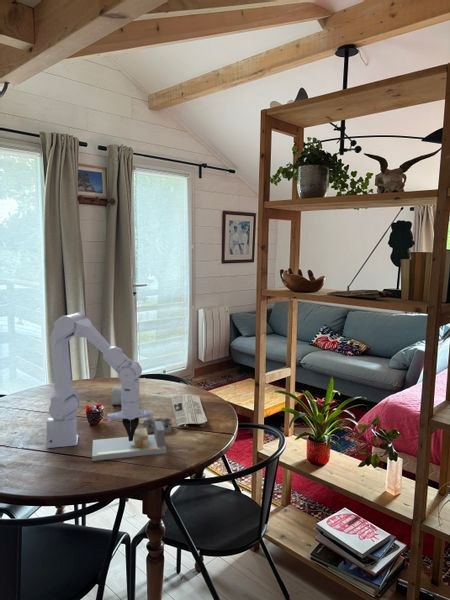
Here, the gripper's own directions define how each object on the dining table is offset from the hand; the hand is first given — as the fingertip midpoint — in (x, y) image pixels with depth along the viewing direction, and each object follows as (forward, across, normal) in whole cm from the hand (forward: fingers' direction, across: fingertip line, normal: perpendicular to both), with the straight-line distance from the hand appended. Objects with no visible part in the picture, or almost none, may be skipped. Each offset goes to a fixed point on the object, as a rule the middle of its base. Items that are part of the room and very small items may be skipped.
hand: (130, 440), depth 145 cm
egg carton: (+3, +10, +14) cm, 18 cm away
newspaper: (+4, +25, +28) cm, 38 cm away
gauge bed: (+3, -1, 0) cm, 3 cm away
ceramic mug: (+3, -1, +45) cm, 46 cm away
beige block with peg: (+1, +3, -1) cm, 4 cm away
